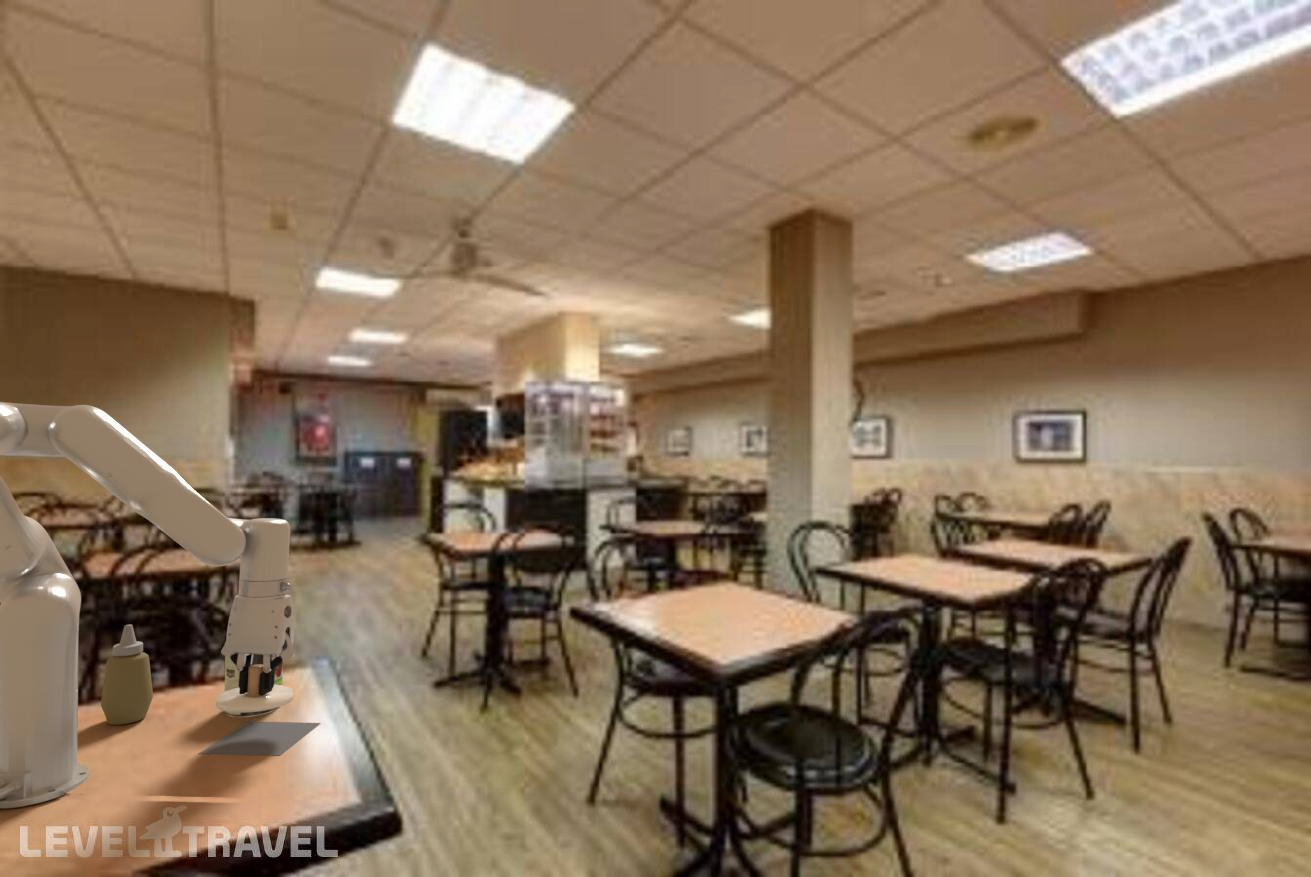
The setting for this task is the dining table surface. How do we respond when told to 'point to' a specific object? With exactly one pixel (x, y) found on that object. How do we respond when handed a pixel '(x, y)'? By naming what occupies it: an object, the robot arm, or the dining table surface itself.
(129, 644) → the squeeze bottle
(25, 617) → the robot arm
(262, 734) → the mat
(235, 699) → the lid
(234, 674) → the coffee can
